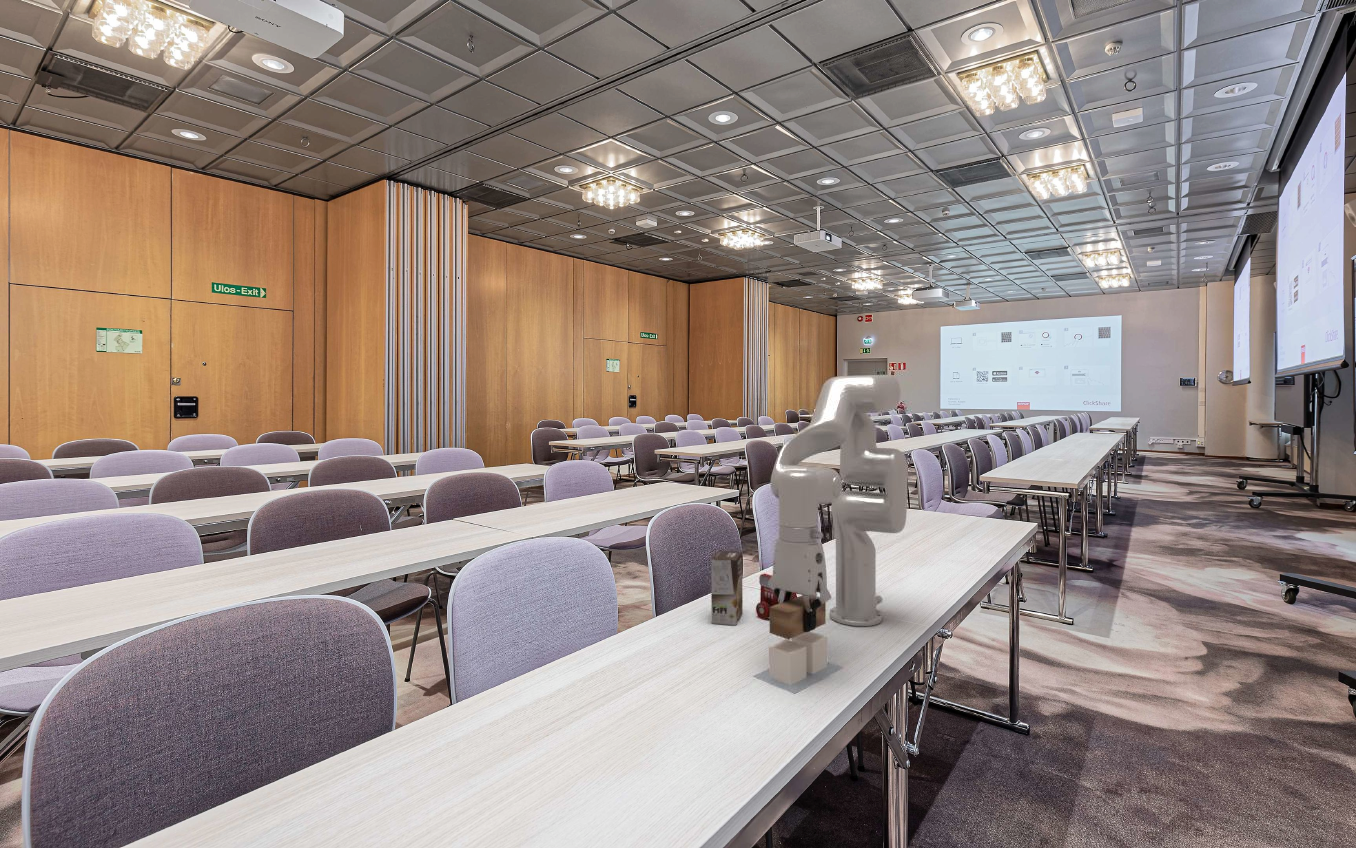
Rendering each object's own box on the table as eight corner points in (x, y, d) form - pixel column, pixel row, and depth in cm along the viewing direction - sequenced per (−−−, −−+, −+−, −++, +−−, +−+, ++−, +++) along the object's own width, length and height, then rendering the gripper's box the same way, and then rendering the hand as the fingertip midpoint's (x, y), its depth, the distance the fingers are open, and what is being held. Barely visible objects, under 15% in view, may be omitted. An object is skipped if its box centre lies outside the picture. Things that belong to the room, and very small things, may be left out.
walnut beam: (806, 618, 126) (806, 593, 126) (825, 623, 123) (825, 598, 123) (769, 633, 118) (769, 607, 118) (788, 639, 115) (788, 612, 114)
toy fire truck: (787, 629, 146) (787, 586, 146) (751, 615, 156) (750, 574, 156) (807, 622, 151) (807, 580, 150) (770, 609, 160) (770, 570, 160)
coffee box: (736, 626, 149) (736, 560, 148) (710, 624, 150) (710, 558, 150) (743, 613, 157) (742, 551, 157) (718, 611, 159) (718, 549, 159)
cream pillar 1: (785, 669, 122) (785, 639, 122) (806, 677, 118) (806, 646, 118) (769, 677, 119) (769, 646, 118) (790, 685, 115) (790, 653, 115)
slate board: (802, 657, 130) (802, 652, 130) (843, 672, 123) (843, 667, 123) (752, 681, 119) (752, 676, 119) (795, 699, 112) (795, 693, 112)
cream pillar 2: (806, 659, 127) (806, 630, 127) (827, 666, 123) (827, 636, 123) (791, 666, 123) (791, 636, 123) (812, 674, 120) (812, 643, 119)
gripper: (847, 537, 116) (846, 633, 117) (775, 525, 129) (776, 612, 129) (824, 543, 111) (824, 644, 112) (752, 530, 124) (752, 620, 124)
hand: (798, 626), depth 120 cm, fingers closed on walnut beam, 4 cm apart
